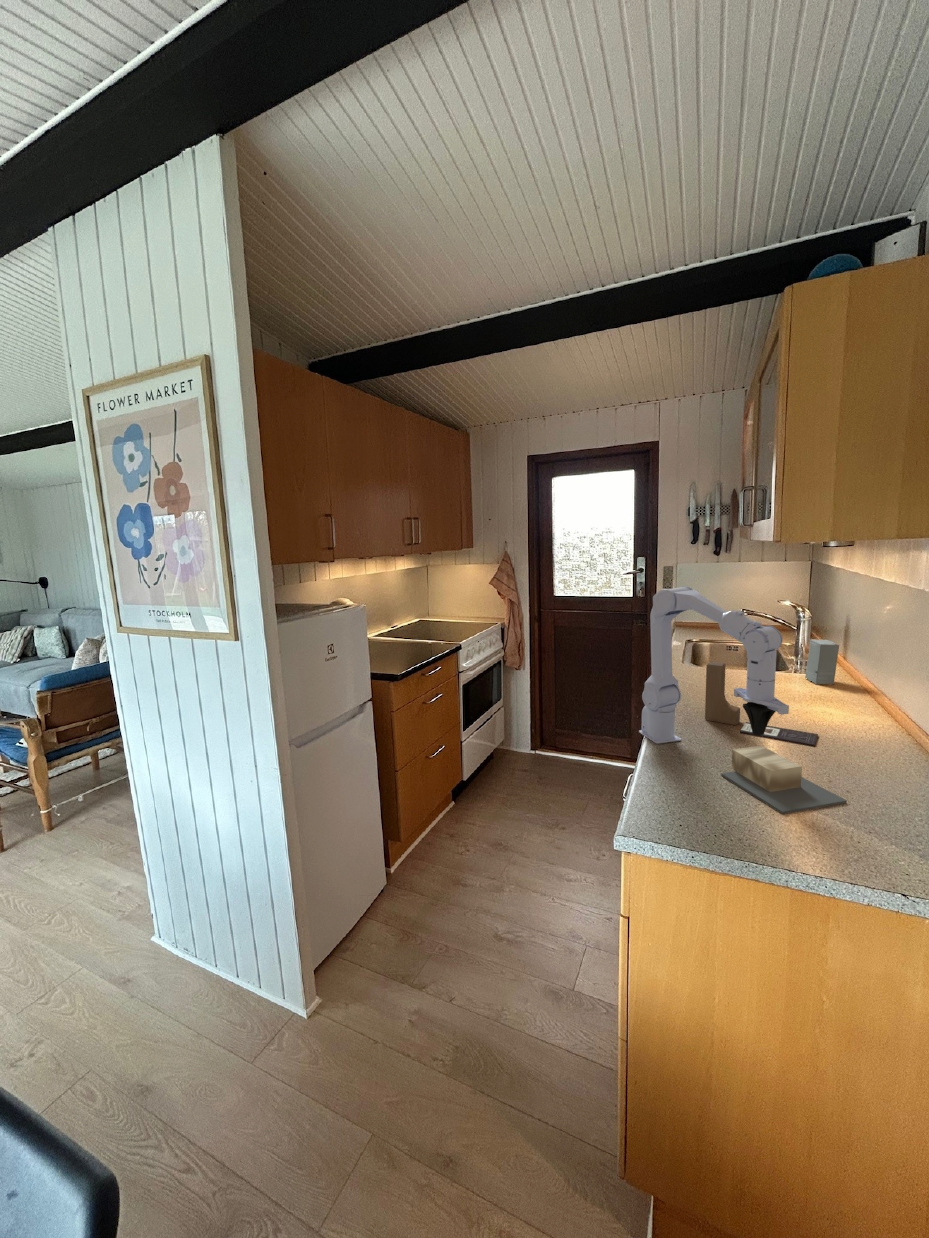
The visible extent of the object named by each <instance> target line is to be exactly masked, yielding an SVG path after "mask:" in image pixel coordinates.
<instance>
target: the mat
mask: <svg viewBox="0 0 929 1238" xmlns="http://www.w3.org/2000/svg"><path fill="white" fill-rule="evenodd" d="M720 776H721V777H722V778H724V777H725V779H726V780H728V781H729V782H731V783H732V784H734V785H735V786H737V787H738V788H740V789H742V790H743V791H744V792H747V793H748V794H750V795H751V796H752V797H755V798H756V799H758V800H759V801H761V802H762V803H763V804H765V805H767V806H768V807H770V808H772V809H773V810H774V811H777V812H778V813H779V814H781V815H786V814H792V813H798V812H804V811H808V810H809V811H811V810H815V809H821V808H825V807H832V806H838V805H843V804H847V803H848V802H847V801H848V800H847V799H845V798H843V797H841V796H839V795H838V794H836V793H833V792H832V791H830V790H827V789H825V788H824V787H822V786H820V785H818V784H816V783H815V782H812V781H810V780H809V779H807V778H804V777H803V776H802V777H801V787H799V788H793V789H786V790H780V791H774V792H769V791H768V790H766V789H764V788H763V787H761V786H759V785H758V784H756V783H754V782H753V781H751V780H749V779H748V778H746V777H744V776H743V775H741V774H739V773H738V772H736V771H734V770H733V771H729V772H723V773H721V775H720Z"/></svg>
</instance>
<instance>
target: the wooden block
mask: <svg viewBox="0 0 929 1238" xmlns="http://www.w3.org/2000/svg"><path fill="white" fill-rule="evenodd" d="M726 664H727V663H725V662H717V661H710V662H708V663H707V664H706V666H705V667H706V670H705V671H706V672H705V673H706V675H705V700H704V701H705V704H704V709H705V710H704V719H705V720H706V721H709V722H715V723H720V724H726V725H731V726H736V725H738V723H740V721H741V718H740V717H741V707H738V706H735V705H732V704H730V703H729V702H728V701H727V698H726V695H725V691H726V689H725V688H726V667H727V665H726Z"/></svg>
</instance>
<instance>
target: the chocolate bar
mask: <svg viewBox="0 0 929 1238" xmlns="http://www.w3.org/2000/svg"><path fill="white" fill-rule="evenodd" d="M739 734H743V735H748V736H754V737H760V738H765V739H770V740H771V739H772V740H777V741H782V742H786V743H792V744H796V745H797V744H799V745H802V746H803V745H804V746H808V747H813V748H815V746H816V744H817V740H818V736H819V734H818V733H815V732H807V731H802V730H795V729H791V728H789V729H788V728H783V727H776V726H771V725H767V727H766V730H765V732H764V734H763V735H755V734H753V733H752V729H751V725H750V721H749V722H748V721H746V722H745V723H744V724H743V726H742V727H741V729H740V730H739Z"/></svg>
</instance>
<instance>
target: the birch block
mask: <svg viewBox="0 0 929 1238" xmlns="http://www.w3.org/2000/svg"><path fill="white" fill-rule="evenodd" d="M731 751H732V753H731V769H732V770H733V772H734V771H736V772H738V773H739V774H741V775H743V776H744V777H746V778H748V779H749V780H751V781H753V782H754V783H756V784H758V785H759V786H761V787H763V788H764V789H766V790H768V791H769V792H774V791H780V790H786V789H793V788H799V787H801V777H803V776H802V775H803V774H802V773H803V766H802V765H800V764H798V763H796V762H795V761H792V760H791V759H789V758H786V757H785V756H783V755H780V754H778V753H776V752H775V751H773V750H771V749H768V748H767V747H764V746H762V745H755V746H749V747H741V748H734V749H732V750H731Z"/></svg>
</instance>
